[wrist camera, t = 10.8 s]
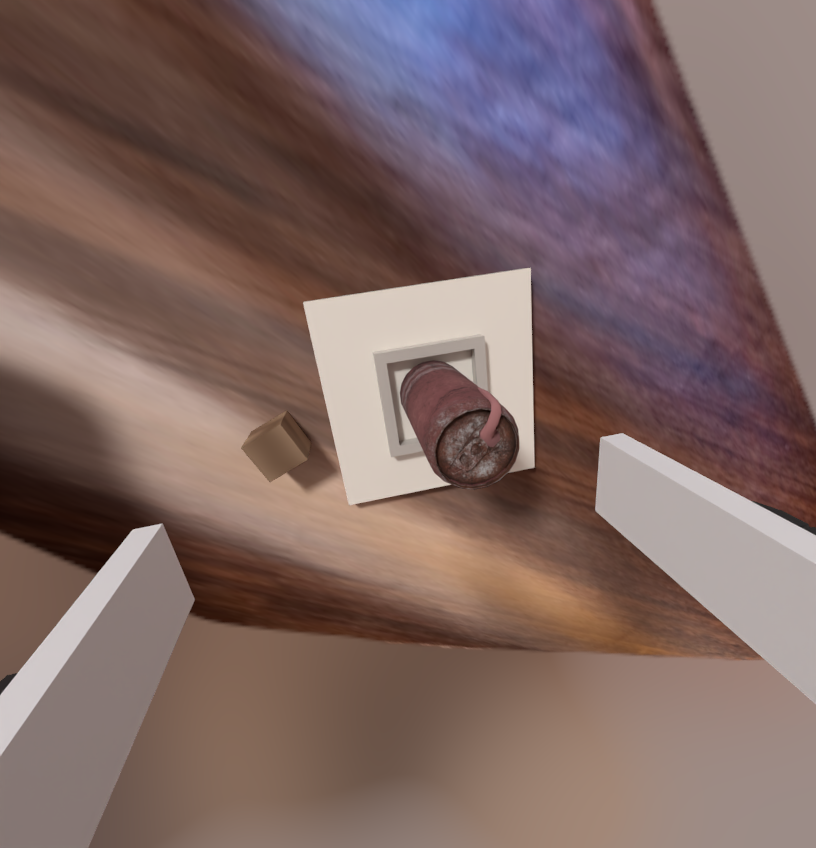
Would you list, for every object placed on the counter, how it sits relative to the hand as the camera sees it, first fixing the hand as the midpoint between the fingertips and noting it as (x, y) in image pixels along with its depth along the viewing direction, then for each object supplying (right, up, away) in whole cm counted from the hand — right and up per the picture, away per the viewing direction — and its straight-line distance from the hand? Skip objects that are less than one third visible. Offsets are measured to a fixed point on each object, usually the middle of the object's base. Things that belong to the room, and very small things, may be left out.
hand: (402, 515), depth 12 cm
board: (+2, +6, +26) cm, 27 cm away
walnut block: (-12, +1, +26) cm, 29 cm away
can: (+2, +6, +25) cm, 26 cm away
